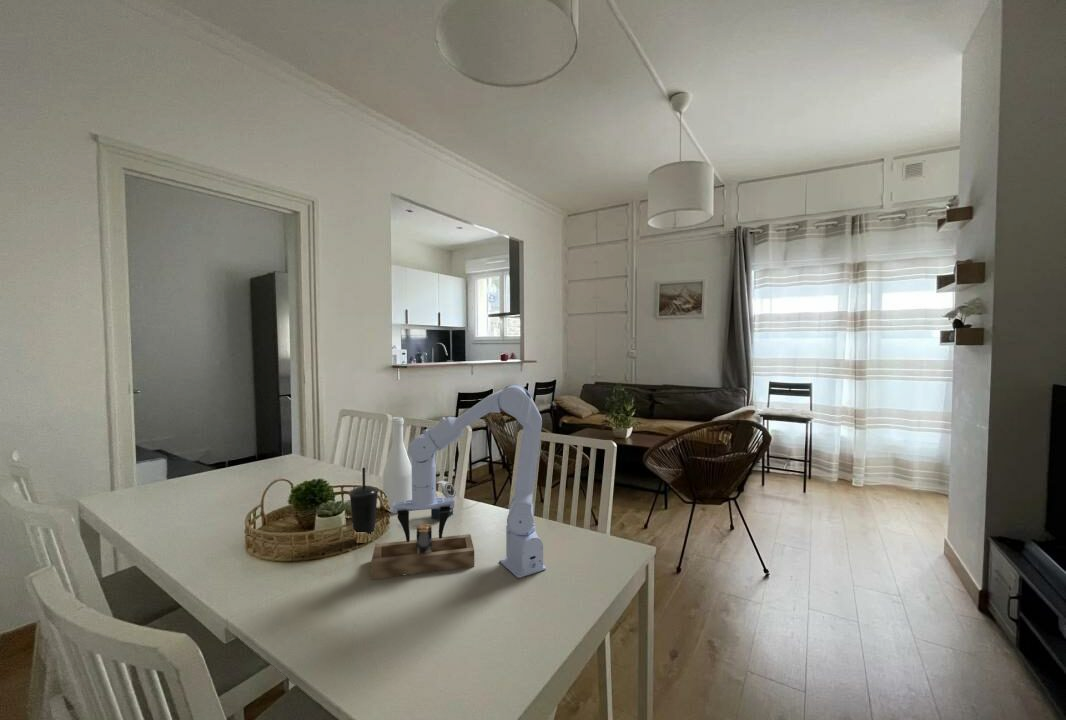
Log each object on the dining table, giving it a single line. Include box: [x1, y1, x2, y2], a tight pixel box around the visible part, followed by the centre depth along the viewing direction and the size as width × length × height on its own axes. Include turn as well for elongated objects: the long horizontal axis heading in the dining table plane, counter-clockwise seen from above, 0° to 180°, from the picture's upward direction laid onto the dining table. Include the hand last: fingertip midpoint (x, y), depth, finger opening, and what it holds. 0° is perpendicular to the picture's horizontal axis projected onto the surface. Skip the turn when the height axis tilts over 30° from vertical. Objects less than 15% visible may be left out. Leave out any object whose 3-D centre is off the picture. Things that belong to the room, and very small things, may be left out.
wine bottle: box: [382, 416, 412, 514], centre depth 140 cm, size 10×10×30 cm
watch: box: [430, 480, 456, 521], centre depth 134 cm, size 6×8×11 cm
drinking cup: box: [348, 467, 380, 534], centre depth 117 cm, size 8×8×20 cm
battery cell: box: [416, 523, 433, 554], centre depth 105 cm, size 4×4×8 cm
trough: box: [370, 533, 475, 580], centre depth 105 cm, size 24×9×4 cm, turn 104°
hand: (424, 538), depth 105 cm, fingers open, 7 cm apart
